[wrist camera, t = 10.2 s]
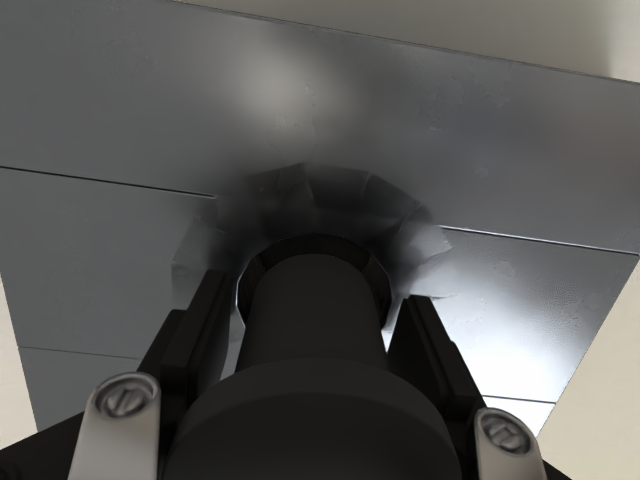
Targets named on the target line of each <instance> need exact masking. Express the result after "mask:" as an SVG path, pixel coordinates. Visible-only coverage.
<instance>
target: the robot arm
mask: <svg viewBox="0 0 640 480" xmlns="http://www.w3.org/2000/svg"><path fill="white" fill-rule="evenodd" d="M232 285H233V277H228V276H227V273H226V271H218V270H210V269H208V270H207V271H206V273H205V275H204V277H203V279H202V281H201V283H200V285H199V287H198V289H197V291H196V293H195V295H194V297H193V299H192V301H191V303H190V305H189V307H188V309H187V310H180V309H172V310H171V311H170V312H169V314H168V316H167V318H166V319H165V321H164V323H163V325H162V326H161V328H160V330H159V332H158V333H157V335H156V337H155V339H154V340H153V342H152V344H151V346H150V347H149V349H148V351H147V353H146V354H145V356H144V358H143V360H142V361H141V363H140V365H139V367H138V369H137V370H136V372H125V373H120V374H117V375H114V376H112V377H110V378H107V379H106V380H104V381H103V382H102V383H100V384H99V385H98V386H97V387H96V388H95V389H94V390H93V391H92V392H91V394H90V396H89V399H88V401H87V405H86V409H85V411H83V412H81V413H79V414H77V415H75V416H72V417H70V418H68V419H66V420H64V421H62V422H59V423H57V424H55V425H53V426H51V427H49V428H47V429H44V430H42V431H40V432H38V433H36V434H34V435H32V436H29V437H27V438H25V439H23V440H21V441H19V442H17V443H14V444H12V445H10V446H8V447H6V448H4V449H2V450H0V480H161V478H162V471H163V467H164V464H165V460H166V457H167V455H168V452H169V449H170V447H171V444H172V441H173V439H174V436H175V433H176V431H177V428H178V426H179V424H180V422H181V420H182V418H183V416H184V414H185V413H186V412H187V410H188V409H189V408H190V406H191V405H192V404H193V403H194V402H195V401H196V400H197V399H198V398H199V397H200V396H201V395H202V394H203V393H204V392H205V391H206V390H208V389H209V388H211V387H212V386H213V385H215V384H216V383H218V382H219V381H220V378H221V375H222V371H223V368H224V364H225V361H226V357H227V353H228V346H229V331H230V315H231V300H232ZM387 356H388V360H389V364H390V368H391V372H392V374H394V375H396V376H398V377H399V378H401V379H403V380H405V381H407V382H408V383H410V384H411V385H412V386H414V387H415V388H416V389H418V390H419V391H420V392H421V393H422V394H423V395H424V396H425V397H426V398H427V399H428V400H429V401H430V402H431V403H432V404H433V405H434V406H435V408H436V409H437V410H438V412H439V413H440V415H441V416H442V418H443V420H444V423H445V425H446V427H447V429H448V432H449V435H450V438H451V440H452V443H453V446H454V449H455V451H456V454H457V457H458V460H459V464H460V468H461V472H462V480H572V479H570V478H569V477H567V476H566V475H565V474H563V473H562V472H560V471H559V470H557V469H556V468H554V467H553V466H552V465H550V464H549V463H547V462H546V461H544V460H543V459H542V457H541V453H540V450H539V446H538V442H537V440H536V438H535V436H534V434H533V433H532V431H531V430H530V429H529V427H528V426H527V425H526V424H525V423H524V422H523V421H521V420H520V419H519V418H518V417H516V416H514V415H513V414H511V413H509V412H507V411H505V410H502V409H499V408H494V407H487V405H486V403H485V401H484V399H483V397H482V395H481V393H480V391H479V389H478V387H477V385H476V383H475V381H474V379H473V377H472V375H471V373H470V371H469V369H468V367H467V365H466V363H465V361H464V359H463V357H462V355H461V353H460V351H459V349H458V347H457V345H456V344H455V342H453V341H452V340H450V338H449V336H448V333H447V331H446V329H445V327H444V325H443V323H442V321H441V319H440V317H439V315H438V313H437V311H436V309H435V307H434V305H433V303H432V301H431V299H430V297H428V296H422V295H414V294H411V295H410V296H409V297H408V298H404V299H403V300H402V303H401V306H400V310H399V313H398V317H397V320H396V324H395V327H394V331H393V334H392V337H391V341H390V344H389V348H388V351H387Z"/></svg>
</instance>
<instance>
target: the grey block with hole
mask: <svg viewBox="0 0 640 480" xmlns="http://www.w3.org/2000/svg"><path fill="white" fill-rule="evenodd" d="M309 233H314V234H321V235H329V236H336V237H343V238H345V239H347V240H348V241H350V242H352V243H354V244H356V245H357V246H359V247H361V248H363V249H365V250H366V251H368V252H369V253H370V257H369V261H368V263H367V264H366V266H365V267H364V268H363V270H362V271H361V272H360V273H361V274H362V275H363V276H364V278H365V279H366V281H367V282H368V284H369V286H370V288H371V292H372V295H373V299H374V303H375V307H376V311H377V315H378V320H379V324H380V328H381V332H382V336H383V340H384V344H385V348H386V352H387V351H388V348H389V344H390V341H391V337H392V334H393V331H394V327H395V324H396V320H397V317H398V313H399V310H400V306H401V303H402V300H403V299H404V298H408V297H409V296H410V295H411V294H414V295H422V296H428V297H430V299H431V301H432V303H433V305H434V307H435V309H436V311H437V313H438V315H439V317H440V319H441V321H442V323H443V325H444V327H445V329H446V331H447V333H448V336H449V338H450V340H452V341H453V342H455V344H456V345H457V347H458V349H459V351H460V353H461V355H462V357H463V359H464V361H465V363H466V365H467V367H468V369H469V371H470V373H471V375H472V377H473V379H474V381H475V383H476V385H477V387H478V389H479V391H480V393H481V395H482V397H483V399H484V401H485V403H486V405H487V407H494V408H499V409H502V410H505V411H507V412H509V413H511V414H513V415H514V416H516V417H518V418H519V419H520V420H521V421H523V422H524V423H525V424H526V425H527V426H528V427H529V429H530V430H531V431H532V433H533V434H534V436H535V438H536V437H537V436H538V434H539V432H540V431H541V429H542V427H543V425H544V424H545V422H546V420H547V418H548V417H549V415H550V413H551V411H552V410H553V408H554V406H555V405H556V402H557V401H558V400H559V398H560V396H561V395H562V393H563V391H564V389H565V388H566V386H567V384H568V382H569V381H570V379H571V377H572V376H573V374H574V372H575V370H576V369H577V367H578V365H579V363H580V362H581V360H582V358H583V356H584V355H585V353H586V351H587V350H588V348H589V346H590V344H591V343H592V341H593V339H594V337H595V336H596V334H597V332H598V330H599V329H600V327H601V325H602V324H603V322H604V320H605V318H606V317H607V315H608V313H609V311H610V310H611V308H612V306H613V305H614V303H615V301H616V299H617V298H618V296H619V294H620V292H621V291H622V289H623V287H624V285H625V284H626V282H627V280H628V279H629V277H630V275H631V273H632V272H633V270H634V268H635V266H636V265H637V263H638V261H639V259H640V83H638V82H633V81H627V80H621V79H616V78H610V77H604V76H598V75H593V74H587V73H581V72H576V71H570V70H564V69H559V68H553V67H547V66H541V65H536V64H530V63H524V62H519V61H513V60H507V59H502V58H496V57H490V56H485V55H479V54H473V53H467V52H462V51H456V50H450V49H445V48H439V47H433V46H428V45H422V44H416V43H410V42H405V41H399V40H393V39H388V38H382V37H376V36H371V35H365V34H359V33H353V32H348V31H342V30H336V29H331V28H325V27H319V26H314V25H308V24H302V23H296V22H291V21H285V20H279V19H274V18H268V17H262V16H257V15H251V14H245V13H239V12H234V11H228V10H222V9H217V8H211V7H205V6H200V5H194V4H188V3H182V2H177V1H171V0H0V274H1V278H2V283H3V287H4V291H5V295H6V300H7V304H8V308H9V312H10V317H11V321H12V325H13V329H14V334H15V338H16V342H17V346H19V347H18V350H19V354H20V358H21V363H22V367H23V371H24V375H25V380H26V384H27V388H28V392H29V397H30V401H31V405H32V409H33V414H34V418H35V422H36V426H37V431H38V432H40V431H42V430H44V429H47V428H49V427H51V426H53V425H55V424H57V423H59V422H62V421H64V420H66V419H68V418H70V417H72V416H75V415H77V414H79V413H81V412H83V411H85V409H86V405H87V401H88V399H89V396H90V394H91V392H92V391H93V390H94V389H95V388H96V387H97V386H98V385H99V384H100V383H102V382H103V381H104V380H106V379H107V378H110V377H112V376H114V375H117V374H120V373H125V372H136V370H137V369H138V367H139V365H140V363H141V361H142V360H143V358H144V356H145V354H146V353H147V351H148V349H149V347H150V346H151V344H152V342H153V340H154V339H155V337H156V335H157V333H158V332H159V330H160V328H161V326H162V325H163V323H164V321H165V319H166V318H167V316H168V314H169V312H170V311H171V310H172V309H180V310H187V309H188V307H189V305H190V303H191V301H192V299H193V297H194V295H195V293H196V291H197V289H198V287H199V285H200V283H201V281H202V279H203V277H204V275H205V273H206V271H207V270H208V269H210V270H218V271H226V273H227V276H228V277H233V285H232V300H231V315H230V331H229V346H228V353H227V357H226V361H225V364H224V368H223V371H222V375H221V378H220V381H221V380H223V379H225V378H226V377H228V376H230V375H232V374H234V371H235V367H236V363H237V359H238V356H239V352H240V348H241V344H242V340H243V336H244V332H245V328H246V324H247V320H248V317H249V313H250V309H251V305H252V301H253V297H254V293H255V290H256V287H257V285H258V283H259V281H260V280H261V278H262V277H263V276H264V274H265V273H266V272H267V271H266V270H265V269H264V268H263V265H262V262H261V259H260V257H259V254H260V253H261V252H263V251H264V250H266V249H267V248H269V247H270V246H272V245H273V244H274V243H276V242H277V241H279V240H283V239H287V238H291V237H296V236H300V235H304V234H309Z"/></svg>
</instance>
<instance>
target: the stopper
mask: <svg viewBox="0 0 640 480" xmlns="http://www.w3.org/2000/svg"><path fill="white" fill-rule="evenodd" d="M161 480H462V472H461V468H460V464H459V460H458V457H457V454H456V451H455V449H454V446H453V443H452V440H451V438H450V435H449V432H448V429H447V427H446V425H445V423H444V420H443V418H442V416H441V415H440V413H439V412H438V410H437V409H436V408H435V406H434V405H433V404H432V403H431V402H430V401H429V400H428V399H427V398H426V397H425V396H424V395H423V394H422V393H421V392H420V391H419V390H418V389H416V388H415V387H414V386H412V385H411V384H410V383H408V382H407V381H405V380H403V379H401V378H399V377H398V376H396V375H394V374H392V372H391V368H390V364H389V360H388V356H387V352H386V348H385V344H384V340H383V336H382V332H381V328H380V324H379V320H378V315H377V311H376V307H375V303H374V299H373V295H372V292H371V288H370V286H369V284H368V282H367V281H366V279H365V278H364V276H363V275H362V274H361V273H360V272H359V271H358V270H357V269H356V268H355V267H354V266H352V265H351V264H349V263H347V262H346V261H344V260H342V259H339V258H337V257H334V256H330V255H325V254H316V253H312V254H302V255H297V256H293V257H290V258H287V259H285V260H283V261H281V262H279V263H278V264H276V265H274V266H273V267H272V268H271V269H269V270H268V271H267V272H266V273H265V274H264V276H263V277H262V278H261V280H260V281H259V283H258V285H257V287H256V290H255V293H254V297H253V301H252V305H251V309H250V313H249V317H248V320H247V324H246V328H245V332H244V336H243V340H242V344H241V348H240V352H239V356H238V359H237V363H236V367H235V371H234V374H232V375H230V376H228V377H226V378H225V379H223V380H221V381H219V382H218V383H216V384H215V385H213V386H212V387H211V388H209V389H208V390H206V391H205V392H204V393H203V394H202V395H201V396H200V397H199V398H198V399H197V400H196V401H195V402H194V403H193V404H192V405H191V406H190V408H189V409H188V410H187V412H186V413H185V414H184V416H183V418H182V420H181V422H180V424H179V426H178V428H177V431H176V433H175V436H174V439H173V441H172V444H171V447H170V449H169V452H168V455H167V457H166V460H165V464H164V467H163V471H162V478H161Z"/></svg>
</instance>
